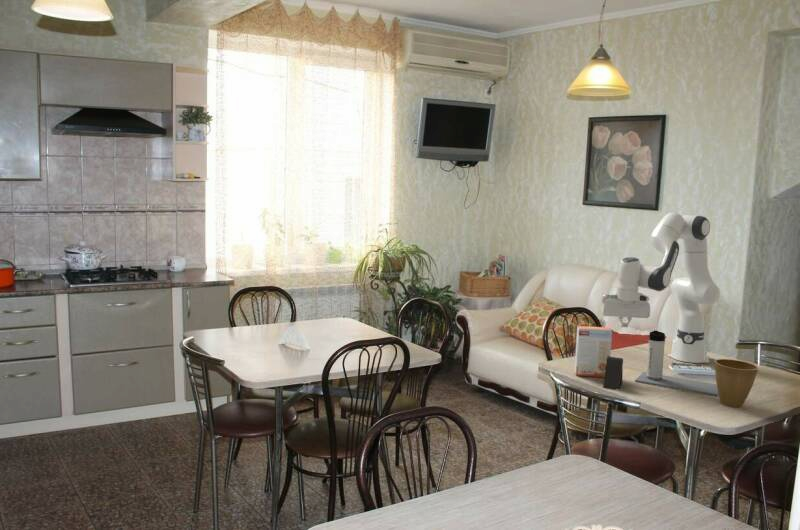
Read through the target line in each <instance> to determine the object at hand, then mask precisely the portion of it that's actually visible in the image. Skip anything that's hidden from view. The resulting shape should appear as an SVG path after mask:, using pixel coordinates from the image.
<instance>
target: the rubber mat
mask: <svg viewBox="0 0 800 530" xmlns="http://www.w3.org/2000/svg"><path fill="white" fill-rule="evenodd" d="M646 376H647V371H643V372H642V373H641V374H640V375H639V376H638V377H636V379H635V382H636V383H639V382H641V383H640V384H645V383H646V385H650V384H652V385H651V386H656V385H658V386H657V387H662V386H663V387H662V388H667V387H669V388H668V389H673V388H676V389H675V390H678V389H681V390H680V391H684V390H686V391H685V392H690V391H691V392H690V393H696V394H702V395H707V396H712V397H719V393H718V389H717V383H711V382H705V381H699V380H695V379H694V380H693V379H687V378H682V377H676V376H675V377H674V376H669V375H664V374H662V379H661V380H651V379H648V378H647V377H646Z"/></svg>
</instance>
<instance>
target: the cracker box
mask: <svg viewBox="0 0 800 530" xmlns="http://www.w3.org/2000/svg"><path fill="white" fill-rule="evenodd" d="M576 327H577V328H576V339H575V354H574V355H575V358H574V371H573V373H574V374H575V376H578V377H580V376H581V377H594V378H595V377H596V378H604V377H605V370H606V363H607V357H608V356H610V357H611V354H612V353H611V352H612V338H613V330H612V328H611V327H605V326H604V327H603V326H600V327H599V326H587V325H586V326H583V325H578V326H576Z"/></svg>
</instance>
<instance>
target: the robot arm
mask: <svg viewBox="0 0 800 530" xmlns="http://www.w3.org/2000/svg"><path fill="white" fill-rule="evenodd" d="M710 223H711V222H710V221H709V219H708V218H707V217H706V216H702V215H693V214H680V213H678V212H669V213H666V214H665V215H664V216H663V218H662V219H661V220H660V221H659V222H658V223H657V225H656V226H655V228H654V229H653V231H652V232H651V235H650V242H651V244H652V247H654V249H656V250H657V251H658V252H659V253H662V254H664V256H663V259H662V261H661V264H660V265H659V266H650V265H645V264H642V263H641V262H640V261H641V260H640V259H639V257H638V258H637V257H624V258H622V259H621V260H620V264H619V267H618V272H617V273H618V274H617V281H618V283H617V286H616V294H609V293H607V294H606V295H603V296H602V300H601V301H602V303H601V304H602V306H601V308H600V309H601V311H600V312H601V315H602V316H604V317H617V319H618V321H619V323H620V324H619V326H620V328H629V324H630V323H631V321H632V318H639V319H640V318H641V319H648V318H650V317H651V305H650V303H649V301H650V296H648V295H646V294H643V293H641V292H639V288H644V289H648V290H654V291H657V292H662V291H664V290H666V289H667V287H669V285H670V292H671V295H672V296H673V297H674V298H675V300H676V303H677V306H678V312H679V313H678V314H679V319H678V328H677V330H676V331H677V332H676V338H675V339H673V341H672V345H671V346H672V348H671V352H670V353H668V354H667V357H668V358H671V359H674V360H675V361H680V362H684V363H685V362H686V363H692V364H702V363H705V364H706V363H707V364H709V363H710V358H709V356H708V354H707V351H706V350H707V349H706V348H707V344H706V343H705V341H704V340H705V331H704V329H705V314H704V312H702V310H701V308H700V306H699V305H702V306H703V305H704V306H705V305H709V306H710V305H715V303H716V302H718V300H719V299H720V296H721V291H720V288H719V287H718V286H717V284H716V283H715V282H714V280H713V278H712V276H711V274H710V270H709V264H708V263H709V261H708V259H709V258H708V240H707V237H708V235H709V234H710V230H711V224H710ZM679 239H680V240H682V242H681V245H682V247H681V267H682V269H683V270H684V271H685V272H686V274H687V275H688V277H677V278H675V279H674V280H673V281H672V283H671V284H670V281H671V276H672V273H673V270H674V269H675V265H676V262H677V259H678V257H679V253H680V245H679V244H680V243H679V242H678V240H679ZM624 318H626V319H627V320H626V321H625V322H624V321H623V320H624Z"/></svg>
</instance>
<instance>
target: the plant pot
mask: <svg viewBox="0 0 800 530" xmlns="http://www.w3.org/2000/svg"><path fill="white" fill-rule="evenodd" d="M758 370H759V366H757V365H755V364H754V363H752V362H751V363H750V362H747V361H741V360H736V359H727V358H718V359H715V361H714V373H715V382H716V383H715V384H717V389H718V393H719V395H718V397H719V401H720V403H721V404H722V405H723V406H725V407H731V408H741V407H743V406H744V403H745V402H746V400H747V398H748V396H749V394H750V392H751V390H752V387H753V385H754V382H755V379H756V377H757V373H758Z"/></svg>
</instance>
